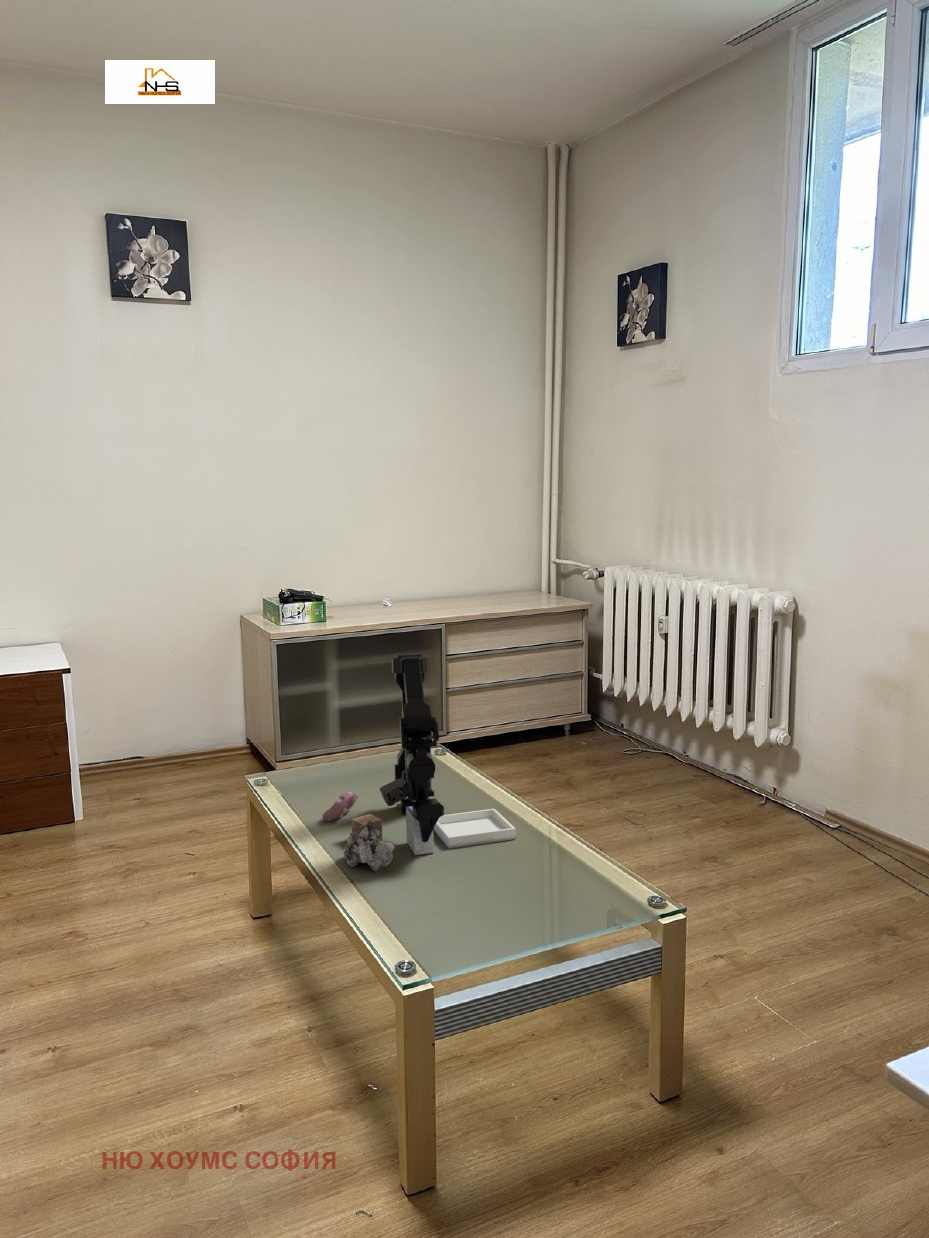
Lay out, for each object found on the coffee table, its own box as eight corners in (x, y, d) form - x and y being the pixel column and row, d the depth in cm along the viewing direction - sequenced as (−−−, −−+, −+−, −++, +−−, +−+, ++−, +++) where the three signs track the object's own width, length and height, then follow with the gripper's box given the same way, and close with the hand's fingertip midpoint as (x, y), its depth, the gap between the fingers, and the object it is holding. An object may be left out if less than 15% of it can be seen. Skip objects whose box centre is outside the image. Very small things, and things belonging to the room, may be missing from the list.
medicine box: (434, 853, 203) (433, 815, 202) (414, 856, 202) (413, 818, 201) (425, 840, 211) (424, 804, 209) (406, 842, 209) (405, 806, 208)
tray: (431, 826, 219) (430, 816, 218) (494, 818, 224) (494, 808, 224) (449, 848, 206) (448, 837, 205) (515, 838, 211) (515, 828, 210)
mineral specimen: (400, 858, 191) (377, 810, 193) (355, 880, 188) (333, 832, 191) (396, 863, 203) (375, 819, 206) (355, 884, 200) (334, 839, 203)
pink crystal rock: (335, 829, 222) (346, 805, 220) (319, 819, 223) (330, 796, 221) (352, 815, 232) (363, 792, 230) (337, 806, 233) (348, 783, 231)
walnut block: (352, 839, 212) (351, 818, 211) (370, 834, 215) (369, 813, 214) (363, 846, 208) (363, 824, 207) (382, 840, 211) (381, 819, 210)
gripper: (373, 759, 210) (374, 825, 212) (393, 784, 192) (395, 855, 194) (420, 754, 213) (421, 819, 215) (444, 778, 196) (445, 848, 198)
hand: (419, 835), depth 206 cm, fingers closed on medicine box, 8 cm apart
